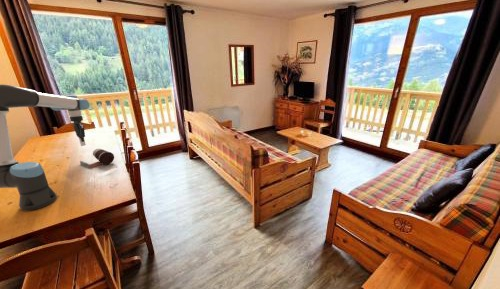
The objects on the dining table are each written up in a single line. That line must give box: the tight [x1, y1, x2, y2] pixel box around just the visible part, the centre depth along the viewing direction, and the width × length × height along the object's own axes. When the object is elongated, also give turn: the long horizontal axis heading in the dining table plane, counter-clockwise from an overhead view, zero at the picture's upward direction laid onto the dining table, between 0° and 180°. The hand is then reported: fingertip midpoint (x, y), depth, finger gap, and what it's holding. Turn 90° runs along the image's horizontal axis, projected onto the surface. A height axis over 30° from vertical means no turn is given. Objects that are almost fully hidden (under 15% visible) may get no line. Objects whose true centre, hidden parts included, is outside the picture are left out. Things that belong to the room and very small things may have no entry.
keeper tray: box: [79, 160, 103, 169], centre depth 162 cm, size 16×14×2 cm
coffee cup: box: [92, 148, 115, 166], centre depth 159 cm, size 10×10×15 cm
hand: (83, 145), depth 165 cm, fingers closed
